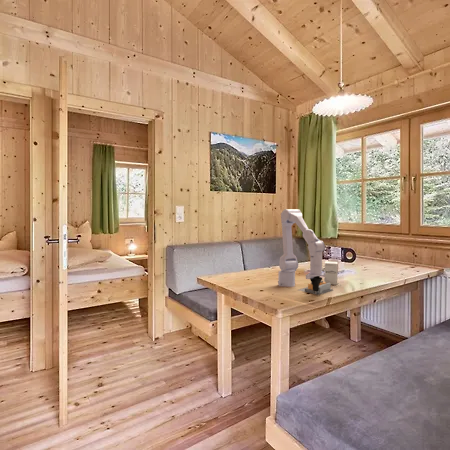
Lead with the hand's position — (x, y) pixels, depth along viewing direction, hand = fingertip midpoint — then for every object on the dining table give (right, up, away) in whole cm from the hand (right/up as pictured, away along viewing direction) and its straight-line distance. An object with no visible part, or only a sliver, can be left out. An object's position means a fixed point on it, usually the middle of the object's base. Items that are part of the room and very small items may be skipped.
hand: (315, 291), depth 159 cm
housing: (+2, -2, +8) cm, 9 cm away
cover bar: (+6, -1, +4) cm, 7 cm away
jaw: (0, -1, +5) cm, 5 cm away
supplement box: (+17, -1, +27) cm, 32 cm away
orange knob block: (+5, -1, +9) cm, 11 cm away
